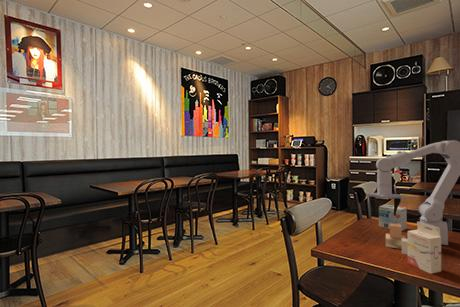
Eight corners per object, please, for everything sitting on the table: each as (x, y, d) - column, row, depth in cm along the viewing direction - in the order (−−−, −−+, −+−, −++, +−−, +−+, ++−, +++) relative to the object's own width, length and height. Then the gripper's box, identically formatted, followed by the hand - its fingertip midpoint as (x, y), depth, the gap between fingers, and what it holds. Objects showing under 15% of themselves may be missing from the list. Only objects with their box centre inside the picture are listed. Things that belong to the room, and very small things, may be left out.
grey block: (413, 252, 104) (413, 239, 104) (414, 256, 100) (414, 242, 100) (401, 250, 106) (401, 238, 106) (401, 254, 102) (401, 241, 102)
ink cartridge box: (406, 263, 94) (406, 222, 94) (417, 261, 95) (416, 220, 95) (431, 274, 86) (430, 229, 86) (442, 271, 87) (441, 227, 87)
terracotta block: (401, 236, 112) (400, 224, 112) (401, 239, 108) (401, 227, 108) (389, 234, 114) (389, 223, 114) (389, 237, 110) (389, 225, 110)
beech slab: (405, 244, 112) (405, 235, 112) (406, 249, 106) (405, 240, 106) (386, 241, 116) (385, 233, 116) (385, 246, 110) (385, 238, 110)
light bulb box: (378, 226, 137) (378, 205, 137) (384, 224, 141) (384, 204, 141) (401, 231, 128) (401, 209, 128) (407, 228, 132) (407, 207, 132)
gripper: (365, 184, 122) (366, 214, 122) (403, 186, 114) (404, 218, 114) (367, 182, 128) (367, 211, 128) (403, 184, 120) (403, 214, 120)
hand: (384, 214), depth 121 cm, fingers open, 7 cm apart
